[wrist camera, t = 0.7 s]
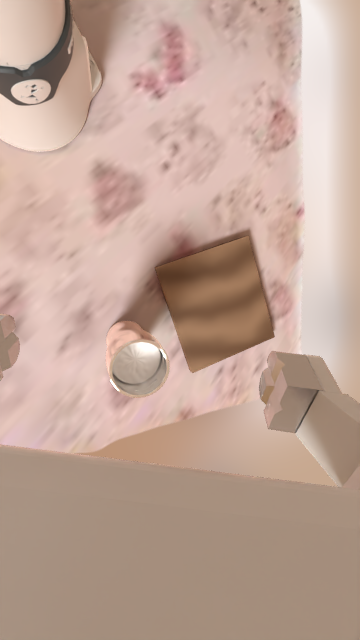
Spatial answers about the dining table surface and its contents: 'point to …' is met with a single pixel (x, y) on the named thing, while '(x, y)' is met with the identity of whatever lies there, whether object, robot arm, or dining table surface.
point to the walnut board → (216, 302)
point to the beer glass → (135, 360)
